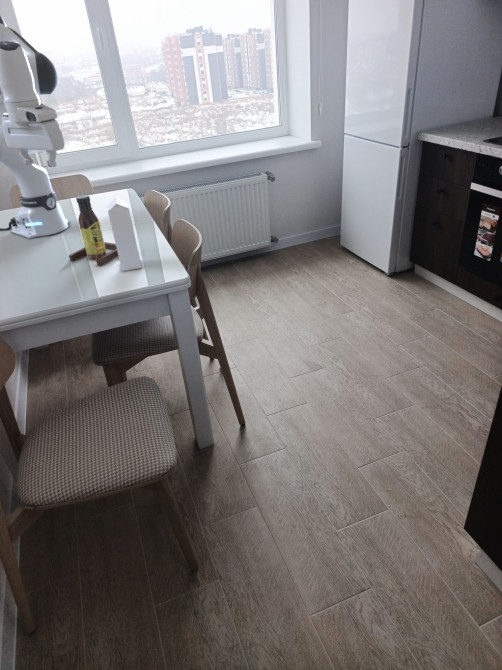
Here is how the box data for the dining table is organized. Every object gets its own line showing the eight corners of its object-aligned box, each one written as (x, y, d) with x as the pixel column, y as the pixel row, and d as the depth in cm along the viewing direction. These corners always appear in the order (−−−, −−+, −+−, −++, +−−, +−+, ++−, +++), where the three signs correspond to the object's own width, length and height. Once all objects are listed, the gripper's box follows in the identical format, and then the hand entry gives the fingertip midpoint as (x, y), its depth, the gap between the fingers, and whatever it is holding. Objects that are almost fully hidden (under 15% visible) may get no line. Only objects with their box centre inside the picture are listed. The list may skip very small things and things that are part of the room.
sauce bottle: (102, 260, 154) (85, 199, 144) (84, 260, 155) (67, 200, 145) (110, 252, 159) (95, 193, 149) (93, 252, 161) (78, 194, 150)
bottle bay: (70, 260, 156) (68, 255, 155) (98, 246, 166) (97, 240, 165) (100, 266, 150) (98, 260, 149) (127, 250, 160) (126, 245, 159)
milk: (122, 271, 145) (104, 200, 134) (121, 264, 150) (103, 195, 139) (142, 267, 147) (126, 196, 135) (140, 260, 152) (124, 191, 140)
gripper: (-10, 114, 129) (7, 166, 137) (41, 115, 121) (57, 170, 128) (10, 110, 134) (25, 161, 141) (60, 111, 125) (74, 165, 133)
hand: (41, 165), depth 135 cm, fingers open, 8 cm apart
